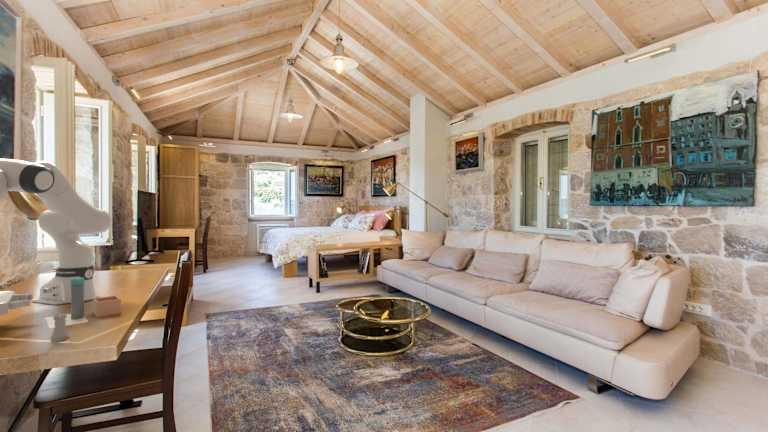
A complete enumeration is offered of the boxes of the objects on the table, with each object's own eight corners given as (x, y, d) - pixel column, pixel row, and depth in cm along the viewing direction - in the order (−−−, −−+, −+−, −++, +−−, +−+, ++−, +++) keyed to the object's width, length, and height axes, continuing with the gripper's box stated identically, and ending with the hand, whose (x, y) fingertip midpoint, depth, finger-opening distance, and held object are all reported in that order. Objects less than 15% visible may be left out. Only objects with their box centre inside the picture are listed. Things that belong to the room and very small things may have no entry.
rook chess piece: (58, 337, 115) (58, 311, 115) (73, 337, 115) (73, 311, 115) (46, 343, 110) (46, 316, 110) (62, 342, 111) (62, 316, 111)
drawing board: (37, 319, 132) (37, 317, 132) (83, 312, 141) (83, 310, 141) (41, 333, 118) (41, 331, 118) (93, 324, 128) (93, 322, 128)
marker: (67, 319, 131) (67, 279, 130) (77, 316, 134) (77, 277, 134) (77, 319, 130) (77, 279, 130) (87, 316, 134) (87, 277, 134)
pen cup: (93, 314, 139) (93, 298, 139) (116, 310, 144) (116, 295, 144) (96, 318, 134) (96, 302, 134) (120, 314, 139) (120, 298, 139)
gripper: (-38, 303, 108) (28, 296, 116) (-24, 290, 123) (33, 284, 132) (-38, 324, 108) (28, 316, 117) (-24, 309, 123) (33, 302, 132)
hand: (31, 299), depth 125 cm, fingers open, 8 cm apart
